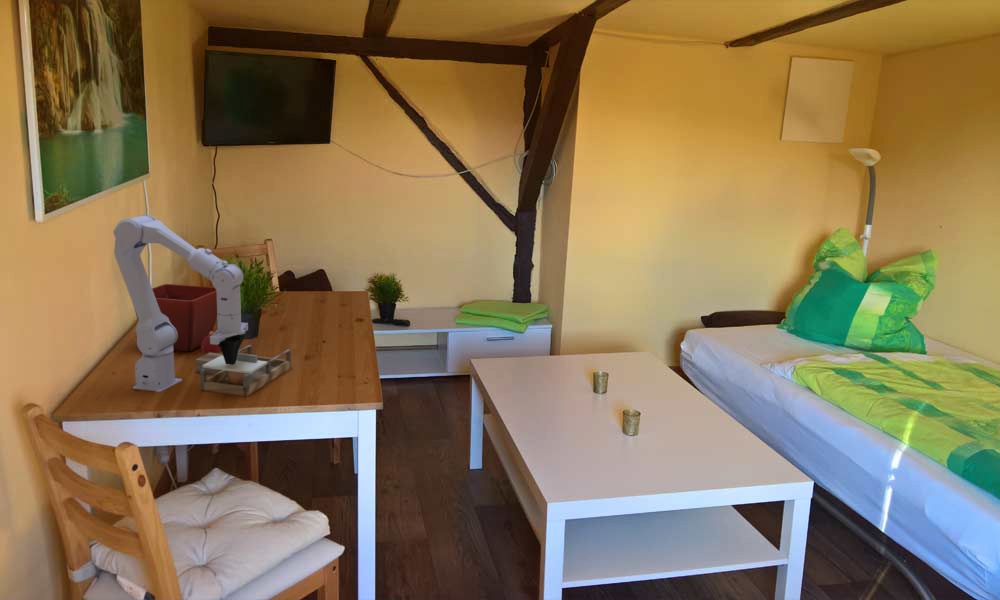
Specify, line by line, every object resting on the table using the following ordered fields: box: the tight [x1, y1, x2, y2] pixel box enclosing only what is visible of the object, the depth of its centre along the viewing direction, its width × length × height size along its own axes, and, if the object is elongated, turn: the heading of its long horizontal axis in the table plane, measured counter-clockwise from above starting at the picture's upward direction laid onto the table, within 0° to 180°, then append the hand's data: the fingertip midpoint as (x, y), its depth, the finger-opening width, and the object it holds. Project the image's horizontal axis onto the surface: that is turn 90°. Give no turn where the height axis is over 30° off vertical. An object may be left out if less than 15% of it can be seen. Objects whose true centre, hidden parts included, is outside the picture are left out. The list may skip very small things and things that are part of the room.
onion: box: [200, 330, 222, 355], centre depth 215 cm, size 6×6×8 cm
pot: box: [228, 371, 246, 386], centre depth 194 cm, size 4×4×5 cm
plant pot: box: [133, 283, 217, 352], centre depth 224 cm, size 19×19×17 cm
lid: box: [202, 352, 267, 374], centre depth 192 cm, size 8×14×2 cm, turn 79°
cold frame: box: [199, 344, 292, 397], centre depth 199 cm, size 24×13×6 cm, turn 169°
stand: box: [194, 353, 223, 375], centre depth 204 cm, size 7×7×4 cm
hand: (230, 363), depth 190 cm, fingers closed
